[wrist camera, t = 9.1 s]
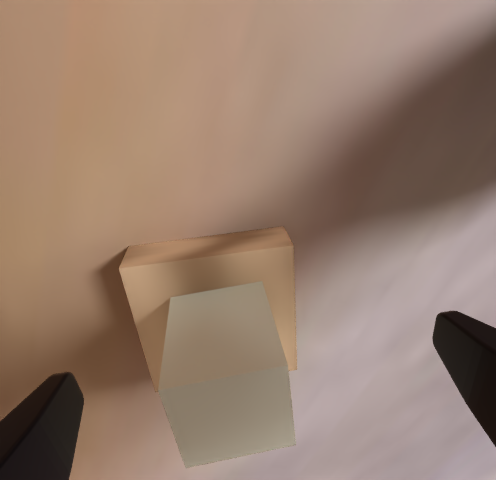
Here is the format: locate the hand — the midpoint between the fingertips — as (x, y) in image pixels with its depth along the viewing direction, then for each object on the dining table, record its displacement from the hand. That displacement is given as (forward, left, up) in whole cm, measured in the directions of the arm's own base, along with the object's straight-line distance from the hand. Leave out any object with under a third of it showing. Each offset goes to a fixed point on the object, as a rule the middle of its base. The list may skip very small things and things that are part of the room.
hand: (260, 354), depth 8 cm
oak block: (+1, +7, -12) cm, 14 cm away
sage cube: (+1, +7, -9) cm, 11 cm away
